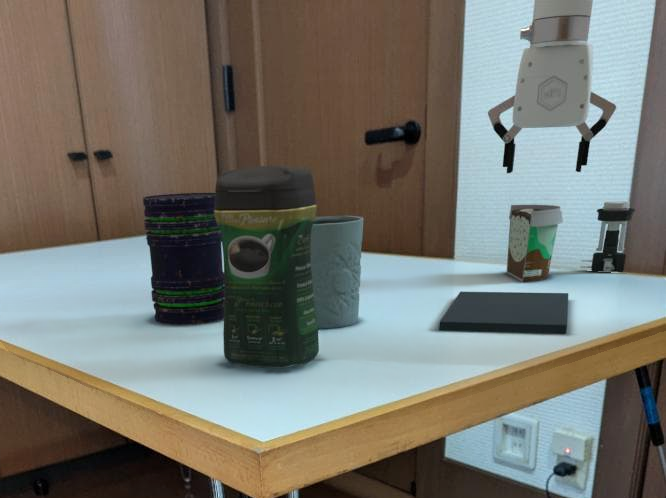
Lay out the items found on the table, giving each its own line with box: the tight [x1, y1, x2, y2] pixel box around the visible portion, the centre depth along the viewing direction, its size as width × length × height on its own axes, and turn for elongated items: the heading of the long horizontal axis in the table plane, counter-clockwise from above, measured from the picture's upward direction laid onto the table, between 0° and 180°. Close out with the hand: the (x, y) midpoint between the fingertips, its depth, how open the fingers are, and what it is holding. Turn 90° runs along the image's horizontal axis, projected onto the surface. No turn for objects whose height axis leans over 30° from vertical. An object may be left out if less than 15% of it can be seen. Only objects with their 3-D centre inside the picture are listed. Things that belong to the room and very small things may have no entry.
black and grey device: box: [579, 200, 636, 273], centre depth 124 cm, size 7×5×10 cm
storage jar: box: [142, 192, 224, 326], centre depth 103 cm, size 10×10×15 cm
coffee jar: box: [214, 165, 320, 369], centre depth 80 cm, size 10×8×19 cm
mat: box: [438, 291, 569, 335], centre depth 99 cm, size 14×20×1 cm
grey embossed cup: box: [310, 215, 365, 330], centre depth 98 cm, size 10×10×12 cm
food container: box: [506, 204, 564, 283], centre depth 122 cm, size 12×6×10 cm, turn 179°
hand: (543, 172), depth 118 cm, fingers open, 9 cm apart
